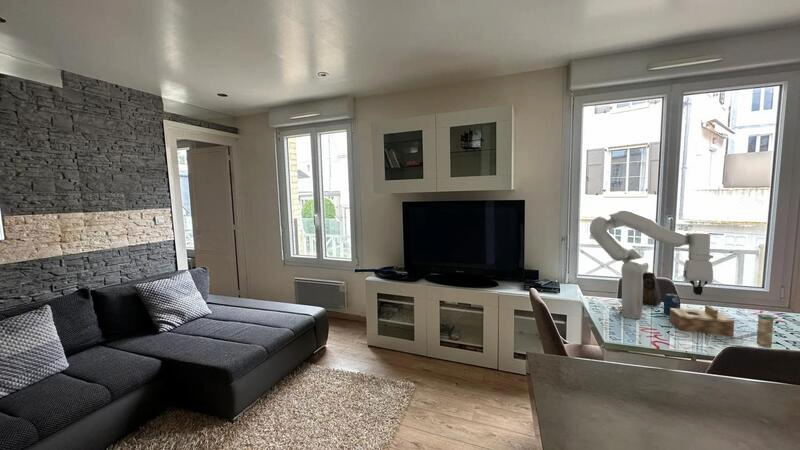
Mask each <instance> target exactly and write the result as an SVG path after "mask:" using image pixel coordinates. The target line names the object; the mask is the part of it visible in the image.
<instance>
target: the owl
mask: <svg viewBox="0 0 800 450" xmlns="http://www.w3.org/2000/svg"><path fill="white" fill-rule="evenodd" d="M658 283H659V282H658V279H657V277H656V275H655V273H653V272H650V271H648V270H647V272H645V273H644V274H643V304H644V303H645V304H644V305H646V304H648V306H651V305H653V306H652V307H658V306H659V305H661V304H660V303H662V295H661V290H660V286H659V284H658Z"/></svg>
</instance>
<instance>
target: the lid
mask: <svg viewBox="0 0 800 450" xmlns="http://www.w3.org/2000/svg"><path fill="white" fill-rule="evenodd" d="M670 310H671V311H672V312H674V313H675V314H676V315H677V316H678V317H680V318H686V319H697V320H707V321H718V322H729V323H734V324H735V320H734V319H732V318H730V317H729V316H727V315H726V314H724V313H723V312H720V311H718V310H717V309H715V308H714V307H712V306H710V305H705V306H704V310H701V309H687V308H680V309H677V308H670ZM691 314H696V315H691Z"/></svg>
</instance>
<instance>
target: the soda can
mask: <svg viewBox="0 0 800 450" xmlns="http://www.w3.org/2000/svg"><path fill="white" fill-rule="evenodd" d="M670 308H677V309H681V297H680V295H679V294H676V293H672V292H668V293H667V292H666V293H665V294H664V296H663V314H664V315H666V316H670Z"/></svg>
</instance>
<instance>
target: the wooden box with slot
mask: <svg viewBox="0 0 800 450" xmlns="http://www.w3.org/2000/svg"><path fill="white" fill-rule="evenodd" d="M691 315H696V314H691ZM669 322H670V323H671V325H673V326H674V328H676V329H677V330H678V331H681V332H691V333H699V334H700V333H701V334H709V335H711V334H712V335H719V336H727V337H728V336H729V337H734V336H735V335H734V334H735V333H734V331H735V322H734V323H729V322H718V321H707V320H697V319H686V318H680V317H678V316H677V315H676V314H675V313H674V312H672V311H671V310H670V315H669Z"/></svg>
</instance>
